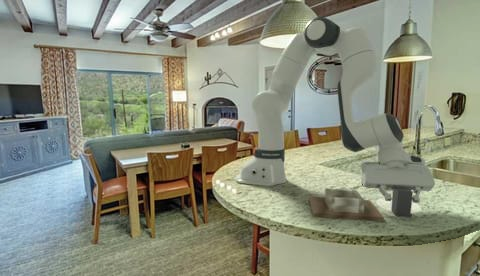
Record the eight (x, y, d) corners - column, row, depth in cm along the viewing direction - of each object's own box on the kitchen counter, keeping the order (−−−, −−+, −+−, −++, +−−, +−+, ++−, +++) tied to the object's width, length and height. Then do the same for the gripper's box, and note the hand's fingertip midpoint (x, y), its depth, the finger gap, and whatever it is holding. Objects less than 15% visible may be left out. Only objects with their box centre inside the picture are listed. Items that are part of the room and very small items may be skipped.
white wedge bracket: (351, 175, 119) (363, 159, 116) (372, 190, 116) (385, 173, 113) (350, 177, 116) (362, 161, 113) (372, 192, 113) (385, 176, 110)
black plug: (396, 216, 83) (398, 190, 82) (391, 211, 87) (393, 186, 86) (410, 217, 83) (412, 191, 82) (404, 211, 87) (406, 187, 86)
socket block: (312, 216, 83) (313, 199, 82) (309, 200, 97) (309, 185, 96) (383, 221, 80) (384, 204, 79) (369, 203, 93) (370, 188, 93)
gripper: (362, 156, 91) (368, 194, 83) (429, 158, 88) (443, 198, 80) (358, 166, 96) (364, 203, 88) (421, 168, 93) (434, 207, 85)
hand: (402, 201), depth 84 cm, fingers open, 6 cm apart
